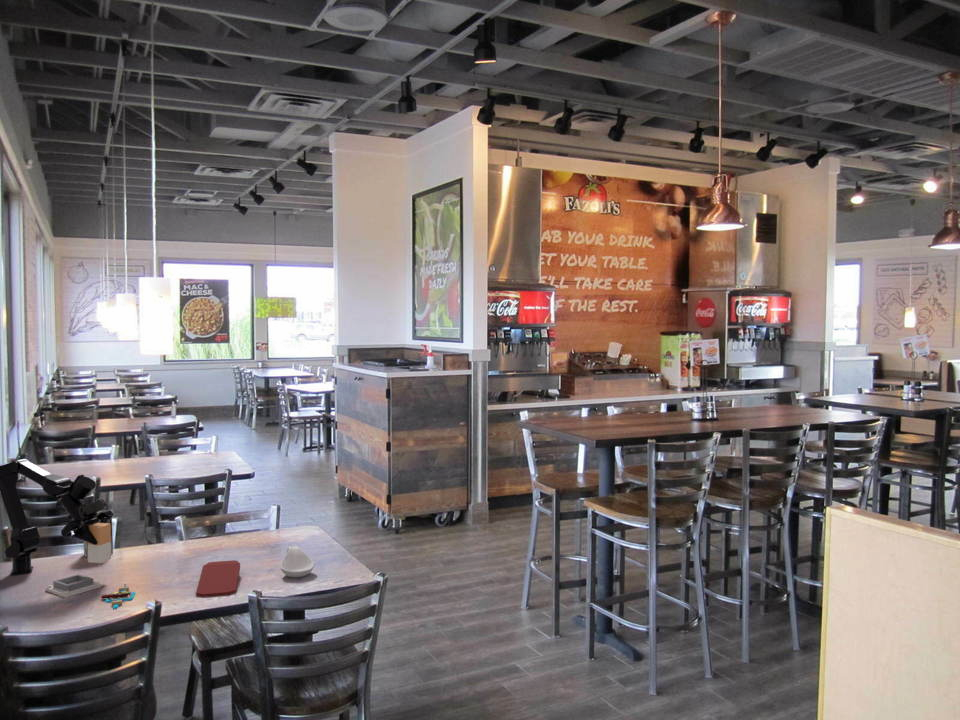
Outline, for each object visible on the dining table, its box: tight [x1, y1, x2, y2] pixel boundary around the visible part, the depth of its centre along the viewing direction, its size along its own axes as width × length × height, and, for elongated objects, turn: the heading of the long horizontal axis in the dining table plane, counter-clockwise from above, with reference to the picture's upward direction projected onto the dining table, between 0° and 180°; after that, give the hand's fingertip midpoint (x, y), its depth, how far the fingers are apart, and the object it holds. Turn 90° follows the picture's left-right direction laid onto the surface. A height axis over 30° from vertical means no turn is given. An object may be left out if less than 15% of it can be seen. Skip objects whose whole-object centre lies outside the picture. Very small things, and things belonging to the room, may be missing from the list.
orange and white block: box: [87, 523, 112, 564], centre depth 254 cm, size 5×5×12 cm
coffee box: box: [83, 509, 114, 559], centre depth 285 cm, size 9×6×16 cm
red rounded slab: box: [195, 560, 241, 598], centre depth 252 cm, size 12×5×26 cm
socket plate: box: [44, 573, 102, 598], centre depth 246 cm, size 12×12×3 cm
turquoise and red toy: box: [100, 582, 136, 610], centre depth 238 cm, size 20×5×9 cm
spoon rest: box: [279, 545, 315, 578], centre depth 266 cm, size 24×12×7 cm, turn 22°
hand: (102, 542), depth 254 cm, fingers closed on orange and white block, 5 cm apart
